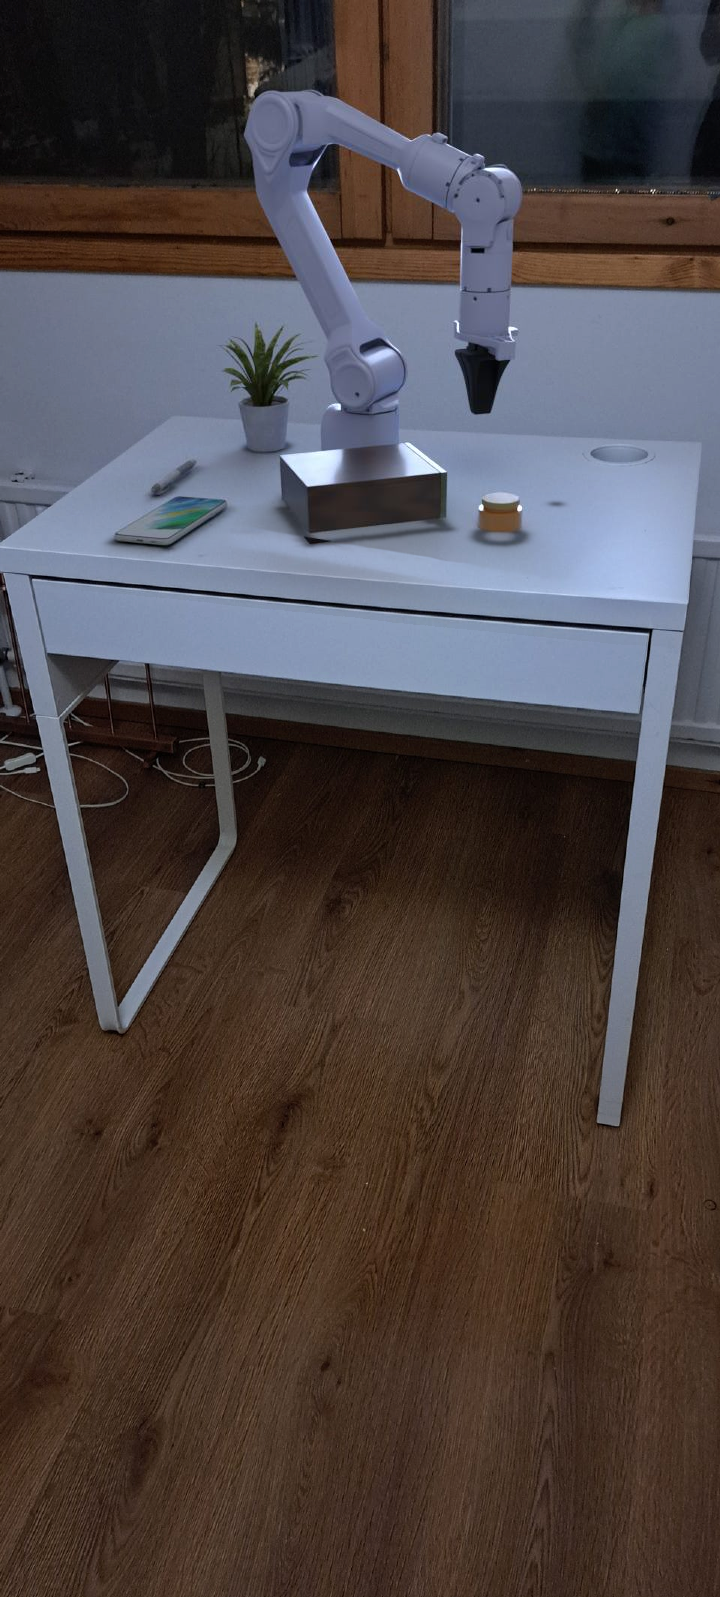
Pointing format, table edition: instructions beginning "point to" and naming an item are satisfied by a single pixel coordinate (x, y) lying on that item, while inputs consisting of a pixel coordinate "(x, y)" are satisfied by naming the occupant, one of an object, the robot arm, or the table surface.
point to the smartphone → (171, 520)
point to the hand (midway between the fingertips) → (480, 412)
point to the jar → (500, 512)
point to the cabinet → (359, 488)
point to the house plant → (264, 391)
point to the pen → (172, 477)
